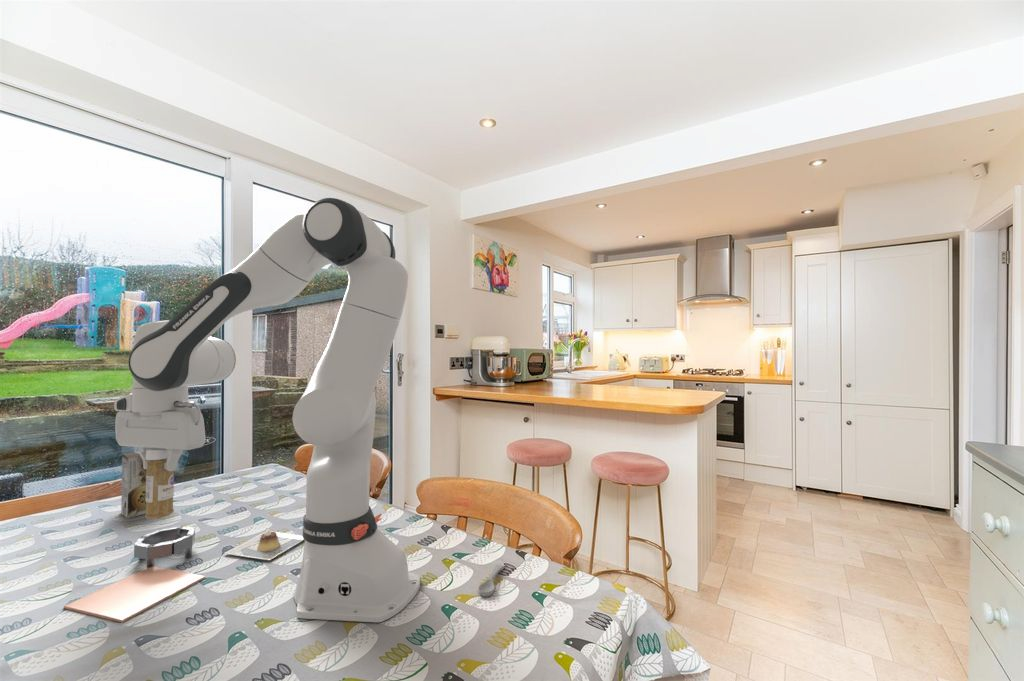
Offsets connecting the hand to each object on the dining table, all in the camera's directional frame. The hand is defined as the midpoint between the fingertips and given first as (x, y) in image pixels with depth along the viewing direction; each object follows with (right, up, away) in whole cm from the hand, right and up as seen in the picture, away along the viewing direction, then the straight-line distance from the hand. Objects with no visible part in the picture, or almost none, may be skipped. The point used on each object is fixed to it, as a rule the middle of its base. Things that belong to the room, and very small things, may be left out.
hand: (160, 469), depth 85 cm
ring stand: (-3, -20, +5) cm, 21 cm away
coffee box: (-30, -21, +31) cm, 48 cm away
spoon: (+67, -21, -3) cm, 71 cm away
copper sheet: (+3, -20, -8) cm, 22 cm away
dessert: (+16, -22, +10) cm, 29 cm away
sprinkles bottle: (0, -9, 0) cm, 9 cm away
